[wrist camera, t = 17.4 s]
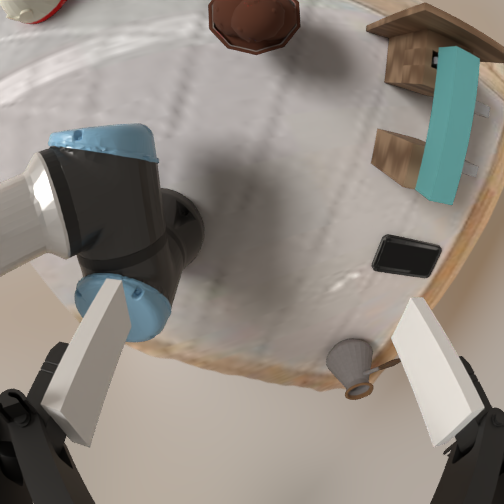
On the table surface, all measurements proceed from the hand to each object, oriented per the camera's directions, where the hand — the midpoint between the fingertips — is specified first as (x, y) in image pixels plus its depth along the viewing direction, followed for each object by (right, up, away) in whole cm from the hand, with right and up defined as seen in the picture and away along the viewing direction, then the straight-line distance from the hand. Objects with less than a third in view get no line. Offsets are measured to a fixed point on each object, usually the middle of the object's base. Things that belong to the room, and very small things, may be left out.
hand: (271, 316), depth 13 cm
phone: (+30, +2, +42) cm, 52 cm away
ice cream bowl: (-1, +35, +22) cm, 42 cm away
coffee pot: (+24, -17, +53) cm, 61 cm away
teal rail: (+24, +22, +22) cm, 39 cm away
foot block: (+23, +20, +31) cm, 43 cm away
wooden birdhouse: (+24, +32, +24) cm, 47 cm away
